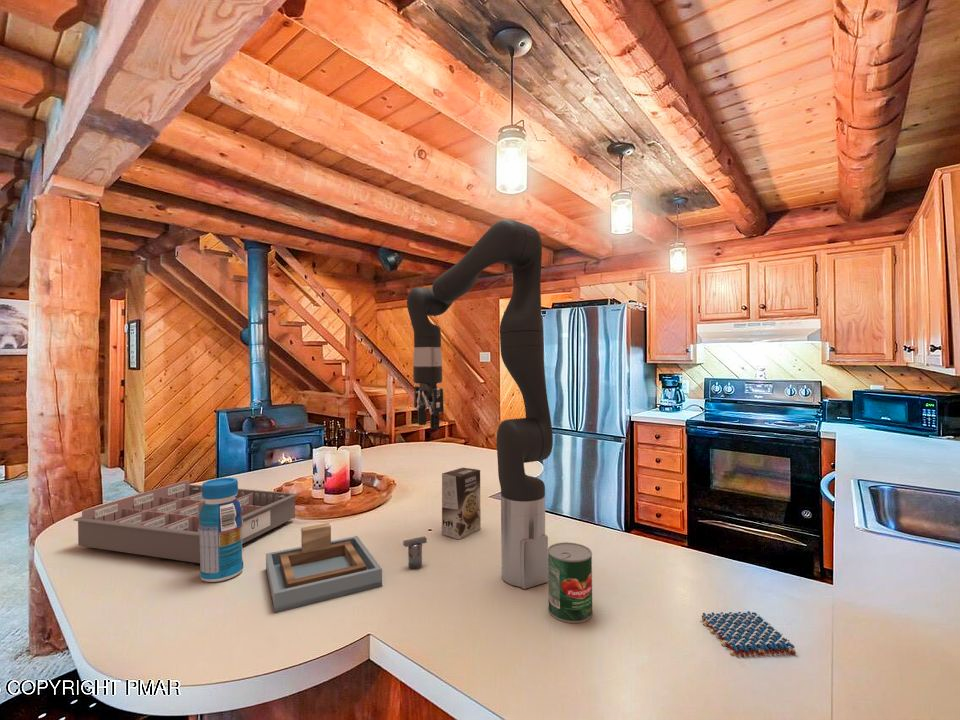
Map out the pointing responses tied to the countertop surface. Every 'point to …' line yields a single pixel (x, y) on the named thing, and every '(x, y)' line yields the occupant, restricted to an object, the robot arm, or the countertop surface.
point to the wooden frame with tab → (319, 556)
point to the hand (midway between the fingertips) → (428, 426)
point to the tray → (323, 588)
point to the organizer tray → (174, 520)
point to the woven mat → (747, 634)
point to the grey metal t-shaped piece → (415, 552)
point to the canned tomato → (570, 582)
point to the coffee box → (461, 502)
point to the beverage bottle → (220, 531)
